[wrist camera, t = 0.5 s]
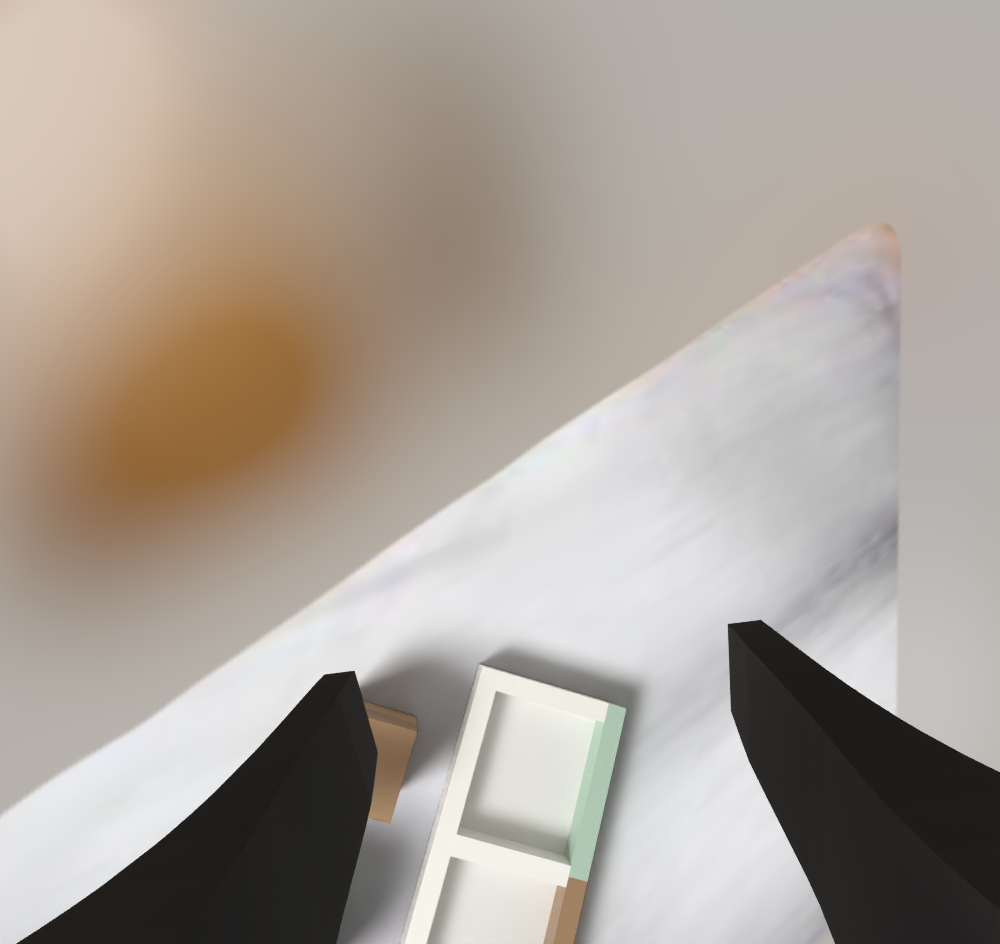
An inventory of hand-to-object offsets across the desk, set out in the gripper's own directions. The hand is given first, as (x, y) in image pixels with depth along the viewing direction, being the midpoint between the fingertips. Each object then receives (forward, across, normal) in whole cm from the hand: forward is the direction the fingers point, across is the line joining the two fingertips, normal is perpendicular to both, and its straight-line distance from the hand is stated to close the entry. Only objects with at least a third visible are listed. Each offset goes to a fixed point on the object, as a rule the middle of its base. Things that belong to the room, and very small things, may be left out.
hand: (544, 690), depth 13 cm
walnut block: (+17, +11, +16) cm, 25 cm away
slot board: (+15, +4, +22) cm, 27 cm away
